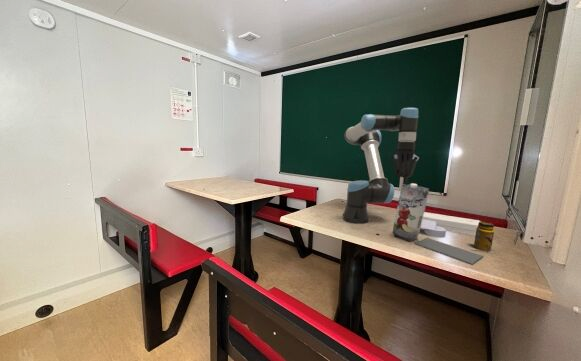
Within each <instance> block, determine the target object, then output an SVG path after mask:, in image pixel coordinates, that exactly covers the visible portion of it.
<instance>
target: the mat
mask: <svg viewBox="0 0 581 361" xmlns="http://www.w3.org/2000/svg"><path fill="white" fill-rule="evenodd" d="M414 245H416V246H418V247H421V248H424V249H427V250H430V251H432V252H435V253H438V254H441V255H443V256H447V257H450V258H452V259H455V260H457V261H460V262H463V263H465V264H468V265H471V266H473V265H475V264H476V263H477V262H479V261H480V260H481V259H482V258H484V255H482V254H479V253H475V252H473V251H471V250H470V251H469V250H466V249H463V248H460V247H458V246H457V247H456V246H454V245H451V244H448V243H444V242H441V241H439V240H435V239H432V238H429V237H426V238H423V239H420V240H418V241H416V242H414Z"/></svg>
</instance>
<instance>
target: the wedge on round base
mask: <svg viewBox="0 0 581 361" xmlns="http://www.w3.org/2000/svg"><path fill="white" fill-rule="evenodd" d="M420 229H424V233H425V234H426V235H427V236H430V237H433V238H445V237H446V234H447V231H446V229H445V228H443V227H440V226H436V222H435V221H430V220H425V219H422V224H421V228H420Z"/></svg>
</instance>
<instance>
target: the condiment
mask: <svg viewBox="0 0 581 361" xmlns="http://www.w3.org/2000/svg"><path fill="white" fill-rule="evenodd" d="M494 227H495V225H494V223H491V222H487V221H481V222H479V224H478V227H477V229H476V235H475V236H474V241H473V242H474V243H468V242H465V244H466V245H467V247H468V248H469V249H470V250H472V251H473V250H474V251H480V252H483V253H484V252H485V253H490V254H495V252H494V250H492V246H493V241H494V235H495V231H494V229H495V228H494Z"/></svg>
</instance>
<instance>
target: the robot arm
mask: <svg viewBox="0 0 581 361" xmlns="http://www.w3.org/2000/svg"><path fill="white" fill-rule="evenodd" d="M418 121H419V108H417V107H403V108H402V109H401V110H400V114H399V115H389V114H388V115H386V114H385V115H384V114H372V113H370V114H364V115H363V116H362V117H361V120H360V122H359V123H357V124H356V125H354V126H351V127H348V128H347V129H346V130H345V132H344V139H345V141H346V142H347V143H349V144H350V145H354V146H360V149H361V150H362V151H364V156H365V161H366V167H367V171H368V178H369V180H354V181H350V182H349V183H348V185H347V191H346V192H347V194H346V195H347V196H346V205H345V206H346V207H345V209H344V210H343V213H342V219H343V221H346V222H347V223H348V222H349V223H354V224H367V223H369V221H370V216H369V212H368V209H367V208H368V204H370V203H371V204H389V203H392V201H393V199H394V196H395V187H394V185H393V184H392V183H389V180H388V178H386V177H385V175H384V170H383V166H382V162H381V161H382V160H381V156H380V152H379V146H380V145H381V144H382V133H381V131H390V132H398V140H397V141H398V142H397V152H396V154H394V155H392V156H391V159H392V161H393V169H394V175H395V176H398V181H397V182H398V184H399V188H398V191H400V192H401V188H402V185H406V184H408V178H409V177H412V176H413V174H414V171H415V169H416V165H417V163H418V161H419V160H420V158H421V157H420V156H417V154H416V153H415V150H416V140H417V130H418ZM411 160H412V161H411Z"/></svg>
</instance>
